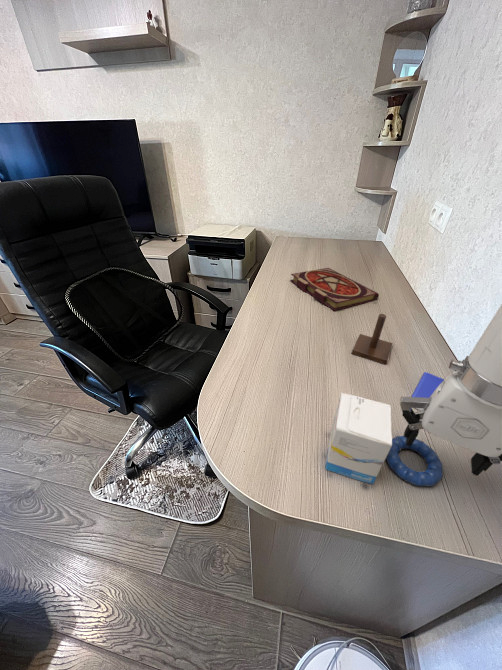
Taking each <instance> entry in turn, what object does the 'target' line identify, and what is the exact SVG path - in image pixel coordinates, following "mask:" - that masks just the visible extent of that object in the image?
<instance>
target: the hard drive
mask: <svg viewBox="0 0 502 670" xmlns="http://www.w3.org/2000/svg"><path fill="white" fill-rule="evenodd" d="M444 380H445V378H443V377H442V378H441V377H439V376H437V375H434V374H433V373H430V372H426V371H424V372H423V374H422V376H421V377H420V380H419V381H418V383H417V385H416V387H415V389H414V391H413V392H412V394H411V396H410V397H423V398H430V396H431V395H432V394H433V392H434V391H435V390H436V388H437V387H438V386H439V385H440V384H441V383H442V382H443V381H444ZM415 410H418V411H419V412H420V411H424V408H415Z"/></svg>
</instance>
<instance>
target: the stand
mask: <svg viewBox="0 0 502 670" xmlns="http://www.w3.org/2000/svg"><path fill="white" fill-rule="evenodd" d="M386 319H387V315H386V314H384V313H379V314H378V316H377V320H376V322H375V323H376V324H375V326H374V330H373V333H372V336H369V335H366V334H362V333H360V334H359V335H358V338H357V340H356V341H355V344H354V346H353V348H352V350H351V355H354V356H356V357H360V358H363V359H366V360H368V361H372V362H376V363H379V364H382V365H385V366H386V365H387V363H388V360H389V357H390V354H391V350H392V347H393V342H391V341H387V340H383V339H380V337H381V335H382V332H383V329H384V325H385V321H386Z"/></svg>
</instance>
